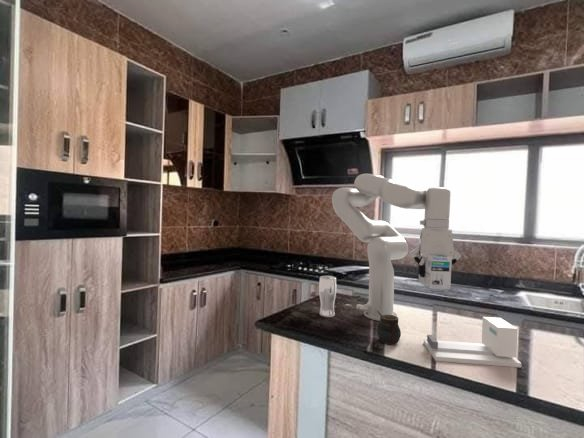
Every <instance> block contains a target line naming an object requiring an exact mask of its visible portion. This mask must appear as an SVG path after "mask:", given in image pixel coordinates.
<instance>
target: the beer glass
mask: <svg viewBox="0 0 584 438" xmlns="http://www.w3.org/2000/svg"><path fill="white" fill-rule="evenodd" d="M337 289H338V288H337V277H336V276H333V275H321V276H319V282H318V292H319V293H318V295H319V301H320V302H319V303H320V310H319V316H321V317H323V318H332V317H334V316H335V313H336V312H335V301H336V296H337Z"/></svg>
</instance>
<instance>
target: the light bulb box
mask: <svg viewBox="0 0 584 438" xmlns="http://www.w3.org/2000/svg"><path fill="white" fill-rule="evenodd" d="M420 257H421V256H420V255H419V258H420ZM451 264H452V257H450V256H443V255H428V258H426V261H425V262H424V266H425V272H424V277H421V276H420V274H418V279H417V280H418V282H419V283H421V284H422V285H424V286H426V287H427V288H429V289H430V290H431V289H432V290H451V285H452V284H451V283H452V282H451V281H452V279H451V278H452V267H451Z"/></svg>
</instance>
